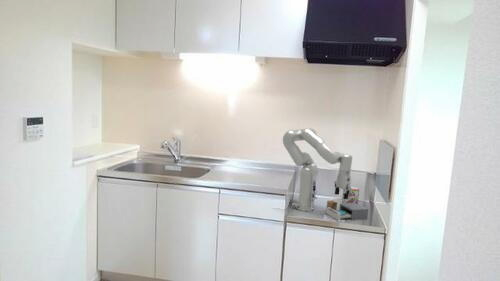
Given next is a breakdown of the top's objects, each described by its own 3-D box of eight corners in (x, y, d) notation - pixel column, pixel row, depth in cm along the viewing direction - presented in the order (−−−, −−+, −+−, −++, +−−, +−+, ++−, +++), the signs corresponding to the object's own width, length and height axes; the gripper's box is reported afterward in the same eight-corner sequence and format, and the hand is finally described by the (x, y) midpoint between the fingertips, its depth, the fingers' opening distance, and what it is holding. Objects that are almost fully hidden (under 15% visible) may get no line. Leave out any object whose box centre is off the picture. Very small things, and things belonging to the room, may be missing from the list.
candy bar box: (341, 208, 244) (343, 187, 243) (341, 206, 249) (343, 185, 248) (357, 211, 242) (359, 189, 240) (356, 209, 247) (358, 187, 245)
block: (330, 210, 238) (331, 202, 237) (326, 208, 243) (327, 200, 242) (336, 210, 240) (337, 202, 239) (332, 208, 245) (333, 200, 244)
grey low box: (351, 220, 221) (353, 210, 220) (339, 213, 234) (340, 203, 233) (367, 218, 226) (368, 208, 225) (353, 212, 239) (354, 202, 238)
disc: (347, 215, 224) (347, 213, 223) (338, 215, 222) (338, 213, 221) (341, 212, 230) (342, 209, 230) (333, 212, 228) (333, 210, 228)
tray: (338, 220, 217) (339, 213, 216) (326, 213, 230) (327, 206, 229) (354, 219, 222) (355, 212, 222) (342, 212, 235) (342, 205, 234)
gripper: (357, 175, 216) (353, 200, 218) (341, 169, 232) (337, 192, 234) (348, 175, 213) (344, 200, 215) (332, 169, 229) (329, 192, 231)
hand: (341, 196), depth 225 cm, fingers open, 9 cm apart
